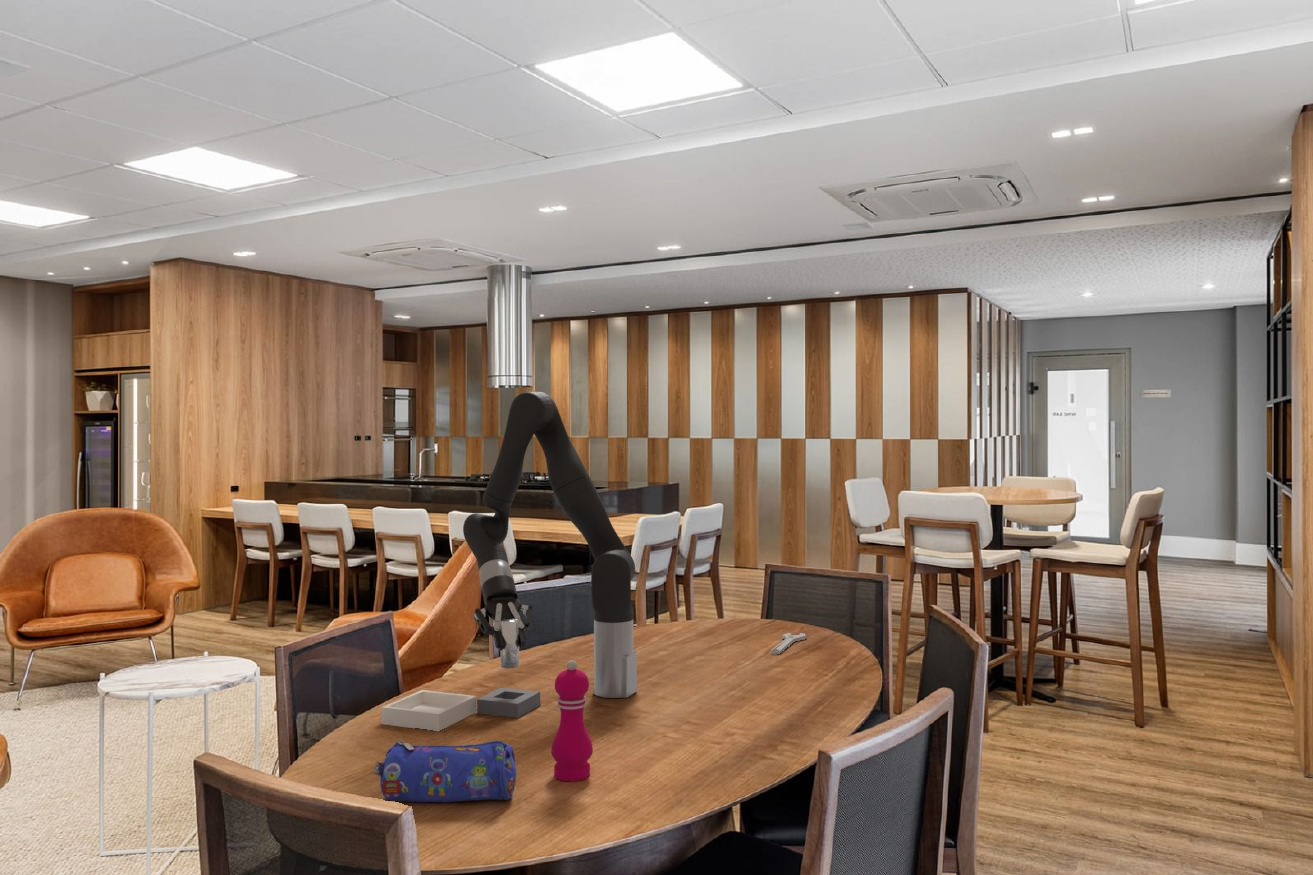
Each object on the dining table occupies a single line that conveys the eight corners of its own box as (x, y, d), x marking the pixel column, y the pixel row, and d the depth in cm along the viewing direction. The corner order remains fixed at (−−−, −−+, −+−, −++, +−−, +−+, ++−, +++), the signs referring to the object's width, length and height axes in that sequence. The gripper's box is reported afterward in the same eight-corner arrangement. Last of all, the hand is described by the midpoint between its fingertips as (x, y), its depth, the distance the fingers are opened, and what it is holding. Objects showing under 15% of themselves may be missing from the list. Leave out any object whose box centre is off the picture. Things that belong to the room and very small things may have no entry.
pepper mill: (552, 768, 159) (551, 656, 159) (592, 767, 159) (592, 655, 160) (550, 783, 152) (550, 666, 152) (593, 782, 152) (592, 665, 152)
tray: (476, 712, 193) (476, 696, 193) (438, 731, 180) (438, 714, 180) (422, 705, 198) (422, 690, 198) (381, 724, 185) (381, 707, 185)
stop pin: (522, 664, 196) (521, 619, 196) (513, 669, 193) (512, 622, 193) (506, 663, 198) (506, 618, 198) (497, 667, 194) (496, 621, 194)
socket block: (540, 705, 198) (540, 691, 198) (517, 718, 188) (517, 703, 188) (501, 700, 201) (501, 687, 201) (477, 713, 192) (477, 699, 192)
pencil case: (372, 810, 141) (372, 749, 141) (388, 789, 150) (388, 732, 150) (511, 809, 141) (511, 749, 141) (519, 788, 150) (519, 731, 150)
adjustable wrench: (779, 657, 245) (779, 650, 245) (757, 655, 248) (757, 648, 248) (808, 639, 267) (807, 633, 267) (787, 637, 270) (787, 631, 270)
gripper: (469, 576, 199) (482, 641, 188) (530, 571, 205) (546, 634, 194) (464, 596, 204) (477, 660, 193) (525, 591, 210) (540, 653, 199)
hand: (512, 647), depth 193 cm, fingers closed on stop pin, 4 cm apart
